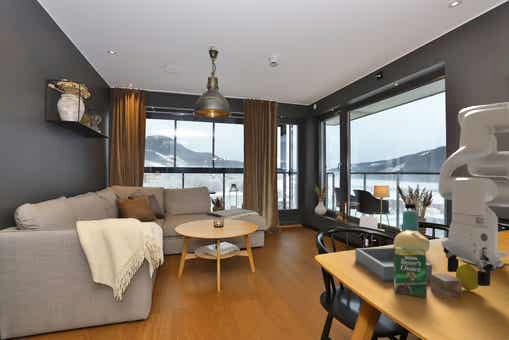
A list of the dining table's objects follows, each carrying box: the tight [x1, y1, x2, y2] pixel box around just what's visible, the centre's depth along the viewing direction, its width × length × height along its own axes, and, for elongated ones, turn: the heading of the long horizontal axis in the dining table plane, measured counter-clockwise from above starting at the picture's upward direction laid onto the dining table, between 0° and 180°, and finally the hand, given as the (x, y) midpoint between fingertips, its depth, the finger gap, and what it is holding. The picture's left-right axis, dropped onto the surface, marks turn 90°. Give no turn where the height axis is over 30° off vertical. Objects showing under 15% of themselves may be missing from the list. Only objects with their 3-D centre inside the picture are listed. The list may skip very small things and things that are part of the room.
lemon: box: [455, 263, 480, 292], centre depth 75 cm, size 6×6×8 cm
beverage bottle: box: [402, 203, 420, 232], centre depth 118 cm, size 6×7×20 cm
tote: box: [354, 246, 433, 283], centre depth 91 cm, size 16×18×5 cm
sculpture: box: [393, 230, 431, 253], centre depth 105 cm, size 12×12×11 cm
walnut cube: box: [430, 272, 463, 300], centre depth 74 cm, size 5×5×5 cm
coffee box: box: [392, 246, 428, 299], centre depth 74 cm, size 8×3×13 cm, turn 69°
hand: (467, 278), depth 75 cm, fingers open, 9 cm apart
